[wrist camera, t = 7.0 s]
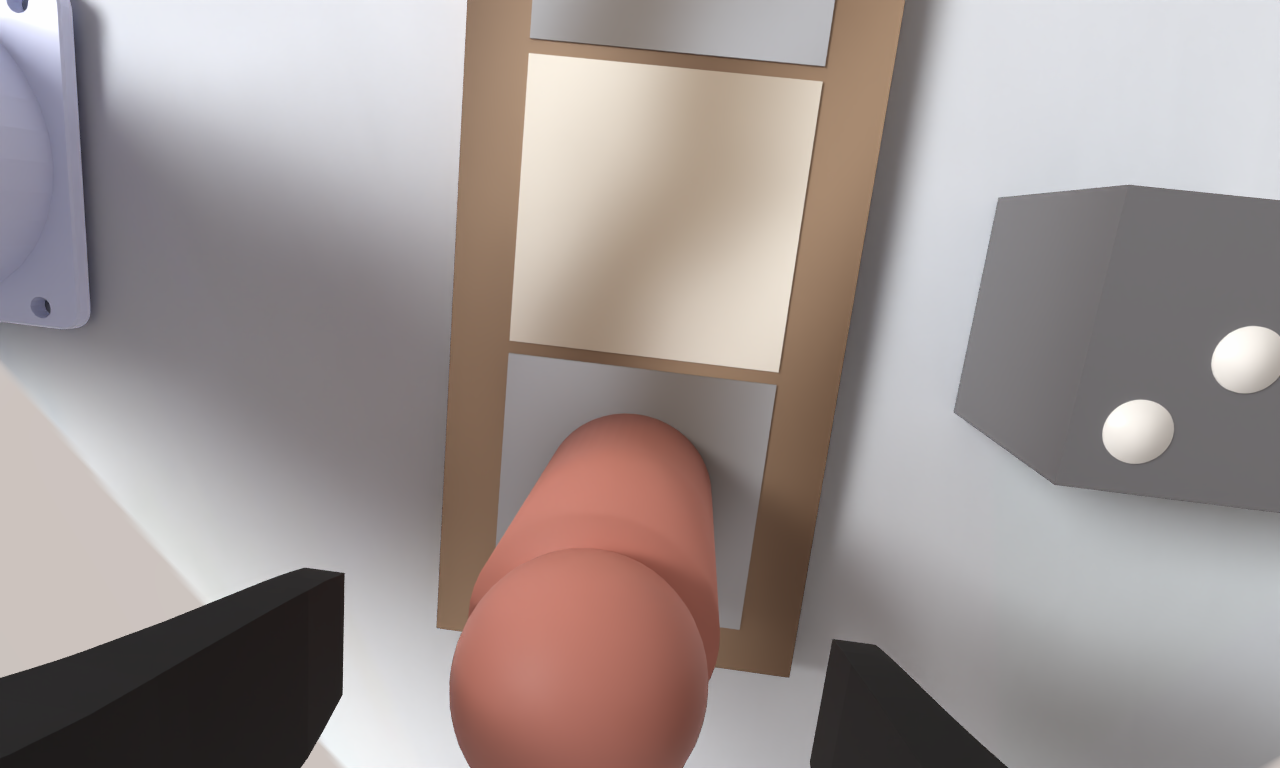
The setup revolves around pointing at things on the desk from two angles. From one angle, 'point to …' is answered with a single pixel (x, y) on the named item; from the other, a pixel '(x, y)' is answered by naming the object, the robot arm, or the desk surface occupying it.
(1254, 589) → the desk surface
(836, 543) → the desk surface
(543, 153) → the board
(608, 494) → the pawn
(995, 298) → the dark grey block
